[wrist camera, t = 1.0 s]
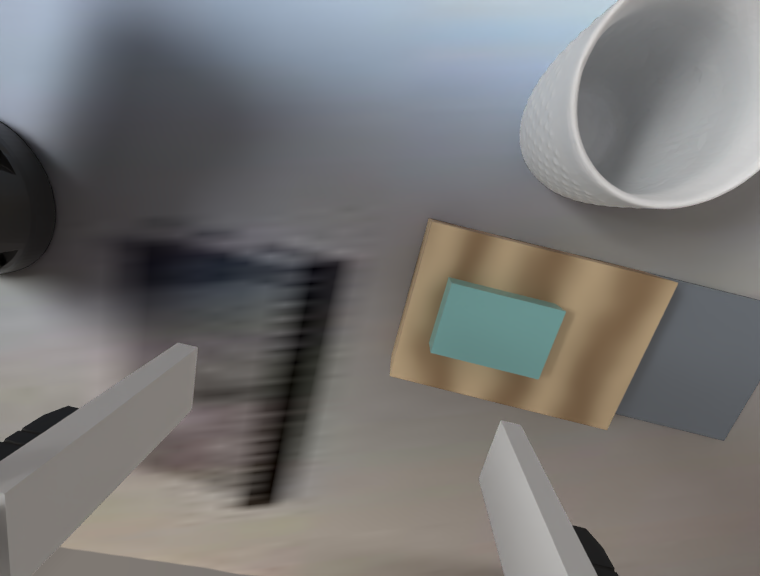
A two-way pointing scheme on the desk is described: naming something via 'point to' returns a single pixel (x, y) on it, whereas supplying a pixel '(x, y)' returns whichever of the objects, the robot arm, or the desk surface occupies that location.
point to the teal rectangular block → (495, 328)
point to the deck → (544, 282)
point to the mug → (650, 106)
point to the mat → (698, 363)
